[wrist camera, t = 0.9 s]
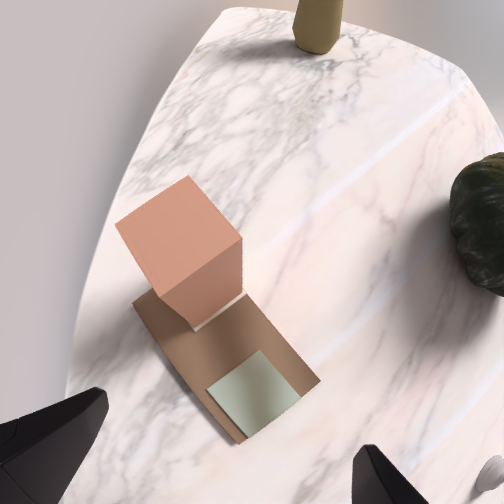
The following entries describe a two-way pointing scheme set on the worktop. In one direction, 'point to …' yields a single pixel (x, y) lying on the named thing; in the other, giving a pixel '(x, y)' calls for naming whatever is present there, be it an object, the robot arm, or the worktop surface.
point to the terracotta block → (186, 250)
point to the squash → (481, 221)
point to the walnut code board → (231, 362)
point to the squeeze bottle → (317, 24)
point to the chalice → (491, 474)
